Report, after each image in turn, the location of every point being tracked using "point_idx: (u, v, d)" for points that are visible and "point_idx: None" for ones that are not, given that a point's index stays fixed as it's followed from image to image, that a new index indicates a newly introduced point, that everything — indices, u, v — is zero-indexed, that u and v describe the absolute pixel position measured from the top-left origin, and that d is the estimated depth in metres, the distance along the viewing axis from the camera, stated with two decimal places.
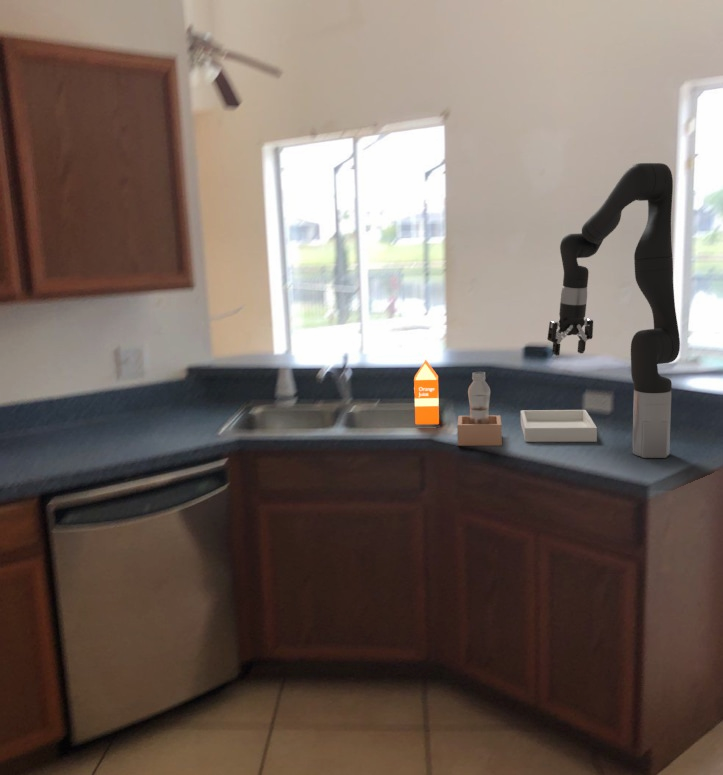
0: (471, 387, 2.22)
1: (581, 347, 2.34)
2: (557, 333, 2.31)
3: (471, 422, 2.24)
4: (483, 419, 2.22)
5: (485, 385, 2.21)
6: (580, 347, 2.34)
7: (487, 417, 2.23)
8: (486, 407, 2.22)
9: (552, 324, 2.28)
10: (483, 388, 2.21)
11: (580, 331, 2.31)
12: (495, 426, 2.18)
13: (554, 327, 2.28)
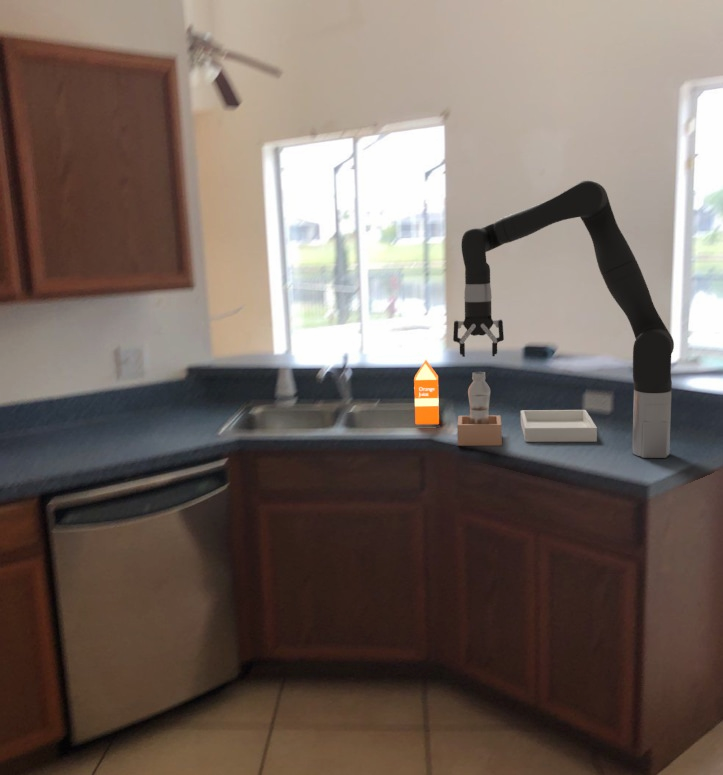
0: (471, 387, 2.22)
1: (492, 349, 2.20)
2: None
3: (471, 422, 2.24)
4: (483, 419, 2.22)
5: (485, 385, 2.21)
6: (492, 349, 2.20)
7: (487, 417, 2.23)
8: (486, 407, 2.22)
9: (454, 323, 2.20)
10: (483, 388, 2.21)
11: (486, 331, 2.18)
12: (495, 426, 2.18)
13: (454, 326, 2.20)
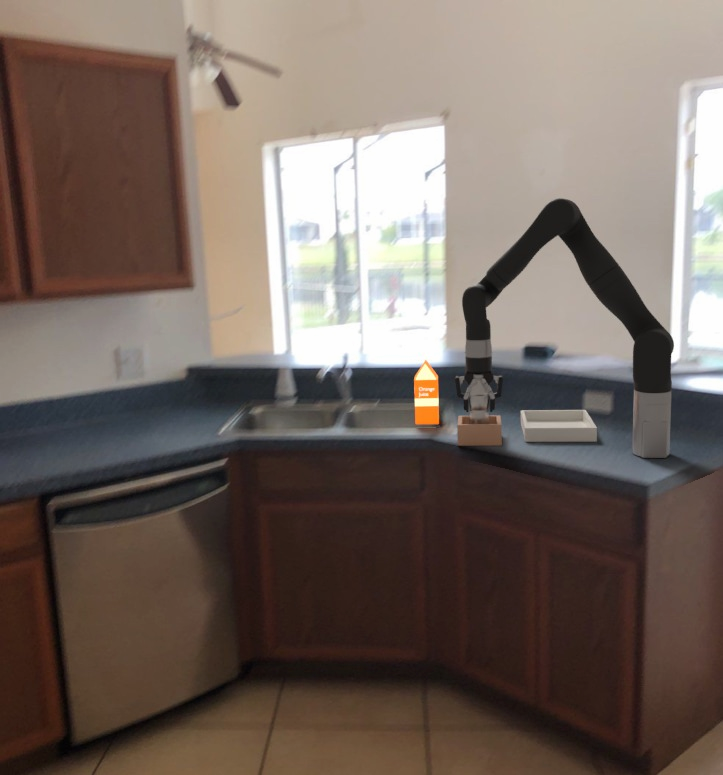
0: None
1: (490, 405, 2.23)
2: (467, 388, 2.25)
3: (471, 422, 2.24)
4: (483, 419, 2.22)
5: None
6: None
7: (487, 417, 2.23)
8: (486, 407, 2.22)
9: (455, 379, 2.23)
10: (483, 388, 2.21)
11: (486, 386, 2.21)
12: (495, 426, 2.18)
13: (456, 382, 2.23)
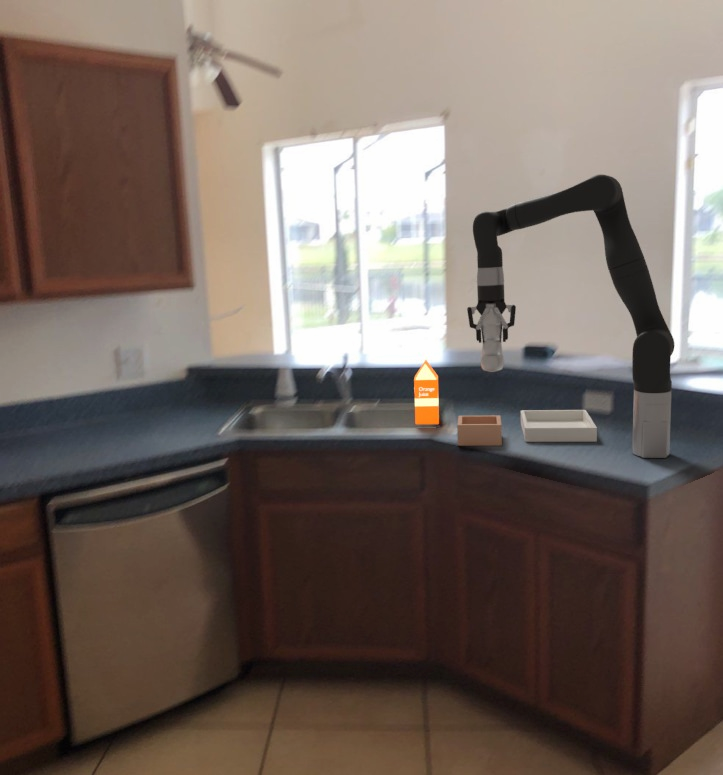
0: None
1: (503, 335, 2.20)
2: (479, 319, 2.22)
3: (484, 353, 2.21)
4: (496, 349, 2.19)
5: None
6: None
7: (500, 347, 2.20)
8: (499, 337, 2.19)
9: (467, 309, 2.20)
10: (496, 317, 2.18)
11: (498, 315, 2.18)
12: (495, 426, 2.18)
13: (468, 312, 2.20)
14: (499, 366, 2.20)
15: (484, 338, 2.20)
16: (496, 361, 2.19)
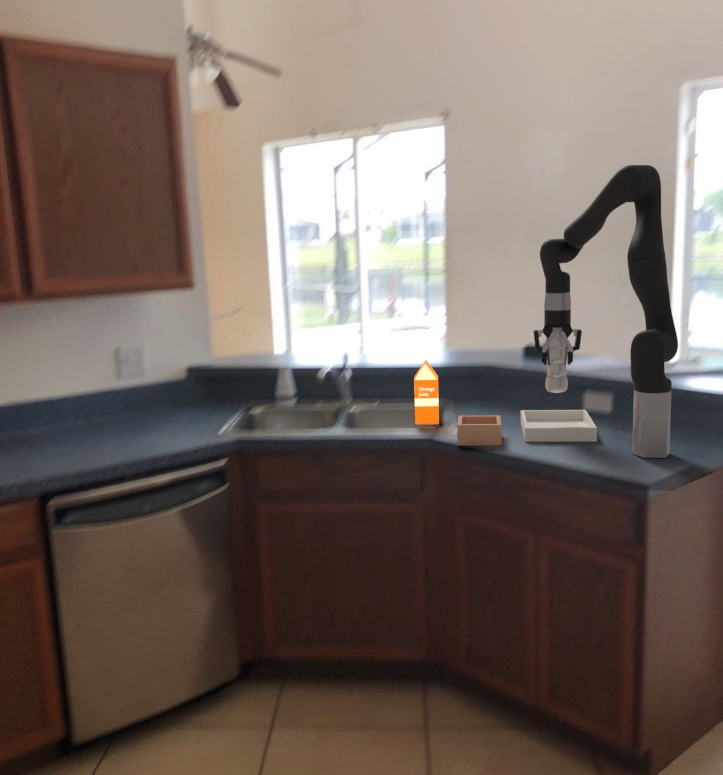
0: (550, 340, 2.26)
1: (568, 358, 2.27)
2: (545, 342, 2.29)
3: (549, 374, 2.28)
4: (561, 371, 2.26)
5: None
6: (567, 358, 2.27)
7: (565, 369, 2.27)
8: (564, 359, 2.26)
9: None
10: (562, 341, 2.25)
11: (564, 339, 2.25)
12: (495, 426, 2.18)
13: (535, 335, 2.27)
14: (564, 388, 2.27)
15: (550, 360, 2.27)
16: (560, 383, 2.26)
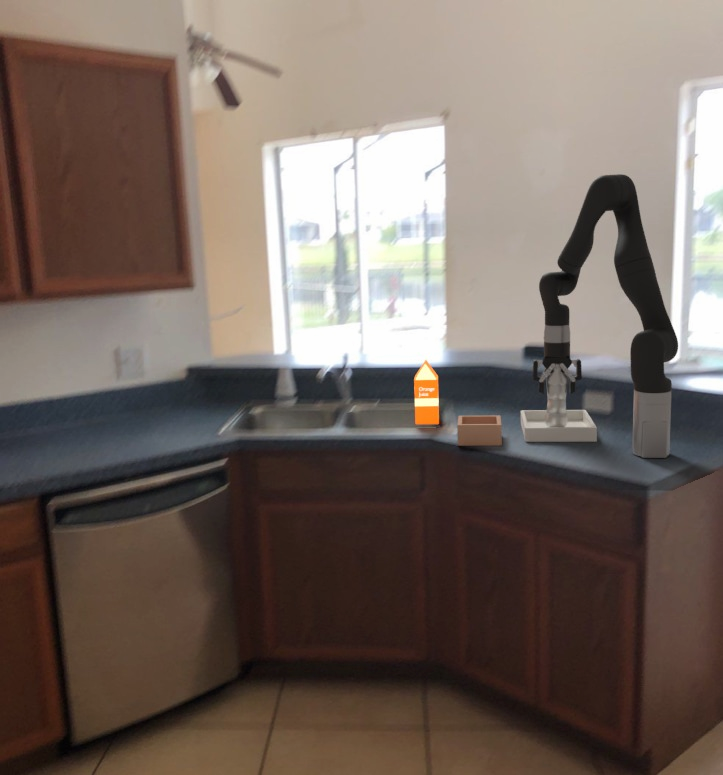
0: (550, 376, 2.28)
1: (570, 388, 2.28)
2: (543, 372, 2.30)
3: (549, 410, 2.30)
4: (561, 407, 2.28)
5: (564, 374, 2.28)
6: (570, 388, 2.29)
7: (565, 406, 2.29)
8: (564, 396, 2.28)
9: (533, 362, 2.29)
10: (562, 378, 2.27)
11: (565, 370, 2.27)
12: (495, 426, 2.18)
13: (534, 365, 2.28)
14: (563, 424, 2.29)
15: (549, 397, 2.29)
16: (560, 419, 2.28)
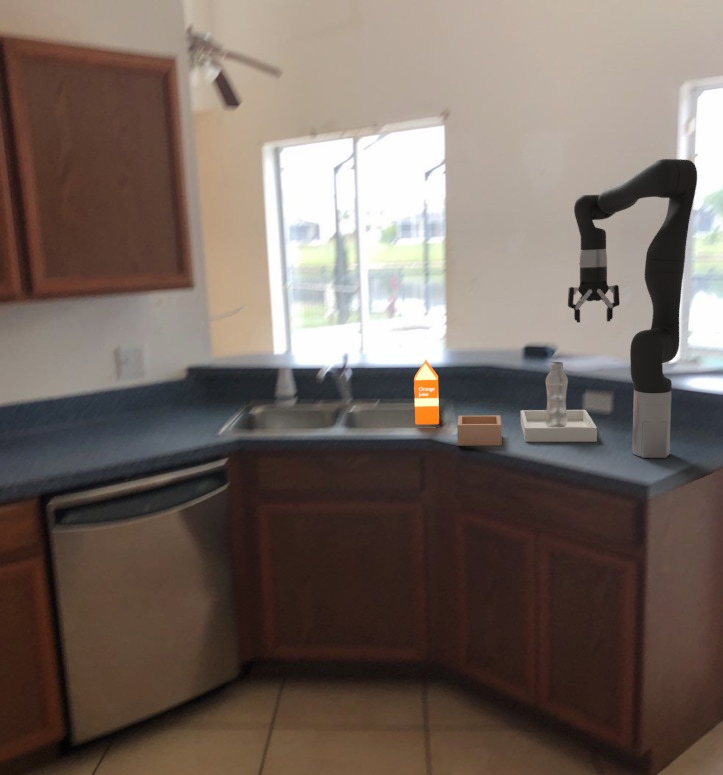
0: (549, 376, 2.28)
1: (607, 314, 2.23)
2: (579, 300, 2.25)
3: (549, 411, 2.30)
4: (561, 408, 2.28)
5: (563, 374, 2.27)
6: (607, 315, 2.23)
7: (564, 406, 2.29)
8: (564, 396, 2.28)
9: (569, 289, 2.23)
10: (561, 378, 2.27)
11: (602, 296, 2.21)
12: (495, 426, 2.18)
13: (570, 292, 2.23)
14: (563, 424, 2.29)
15: (549, 397, 2.29)
16: (560, 420, 2.28)
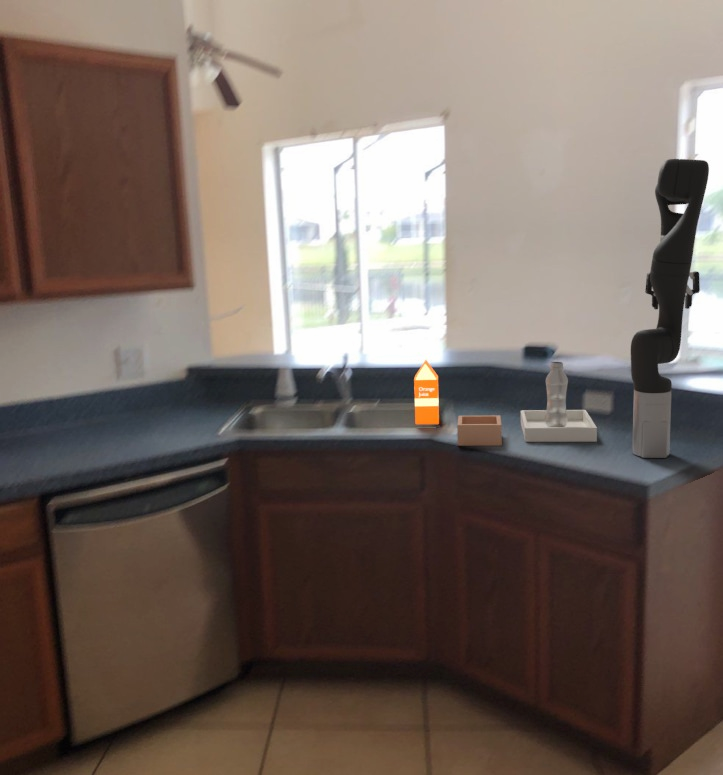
0: (549, 376, 2.28)
1: (686, 301, 2.19)
2: None
3: (549, 410, 2.30)
4: (561, 408, 2.28)
5: (563, 374, 2.27)
6: (686, 302, 2.20)
7: (564, 406, 2.29)
8: (564, 396, 2.28)
9: (647, 275, 2.20)
10: (561, 378, 2.27)
11: None
12: (495, 426, 2.18)
13: (649, 278, 2.19)
14: (563, 424, 2.29)
15: (549, 397, 2.29)
16: (560, 419, 2.28)
